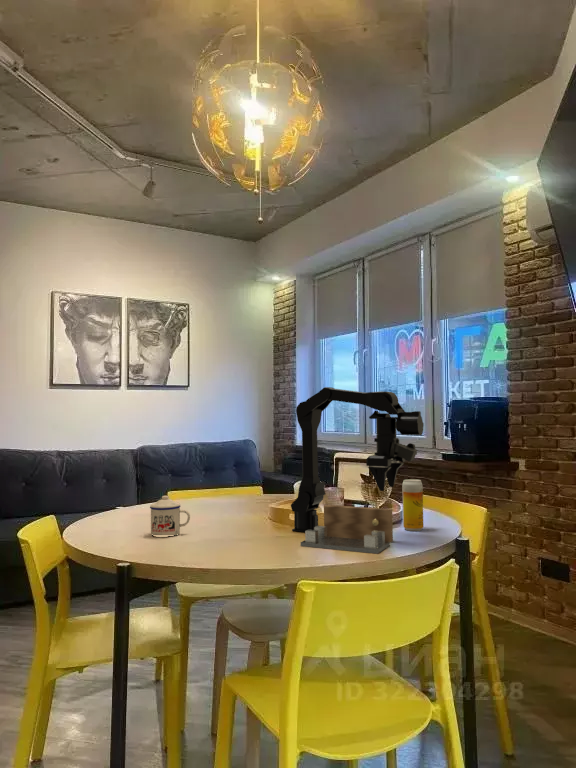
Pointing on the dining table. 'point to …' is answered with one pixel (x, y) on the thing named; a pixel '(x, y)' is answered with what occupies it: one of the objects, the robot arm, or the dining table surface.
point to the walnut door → (357, 521)
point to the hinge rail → (345, 541)
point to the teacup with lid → (166, 517)
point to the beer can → (412, 505)
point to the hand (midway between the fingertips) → (386, 488)
